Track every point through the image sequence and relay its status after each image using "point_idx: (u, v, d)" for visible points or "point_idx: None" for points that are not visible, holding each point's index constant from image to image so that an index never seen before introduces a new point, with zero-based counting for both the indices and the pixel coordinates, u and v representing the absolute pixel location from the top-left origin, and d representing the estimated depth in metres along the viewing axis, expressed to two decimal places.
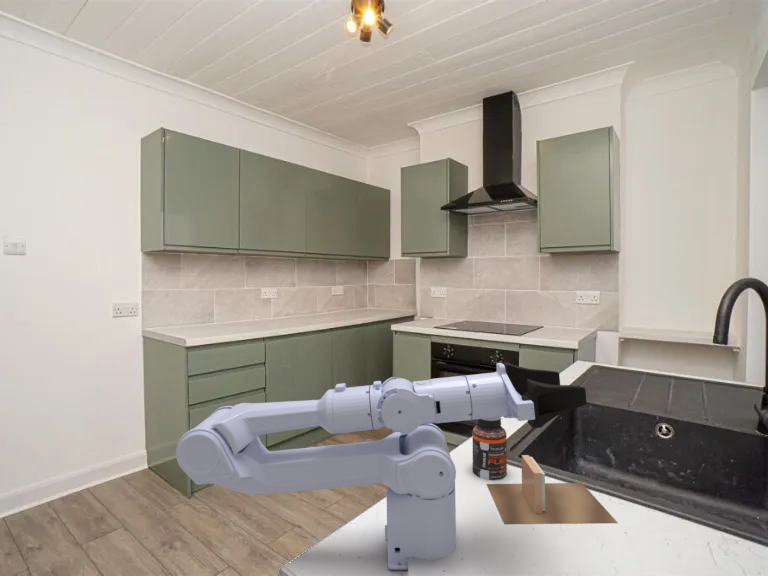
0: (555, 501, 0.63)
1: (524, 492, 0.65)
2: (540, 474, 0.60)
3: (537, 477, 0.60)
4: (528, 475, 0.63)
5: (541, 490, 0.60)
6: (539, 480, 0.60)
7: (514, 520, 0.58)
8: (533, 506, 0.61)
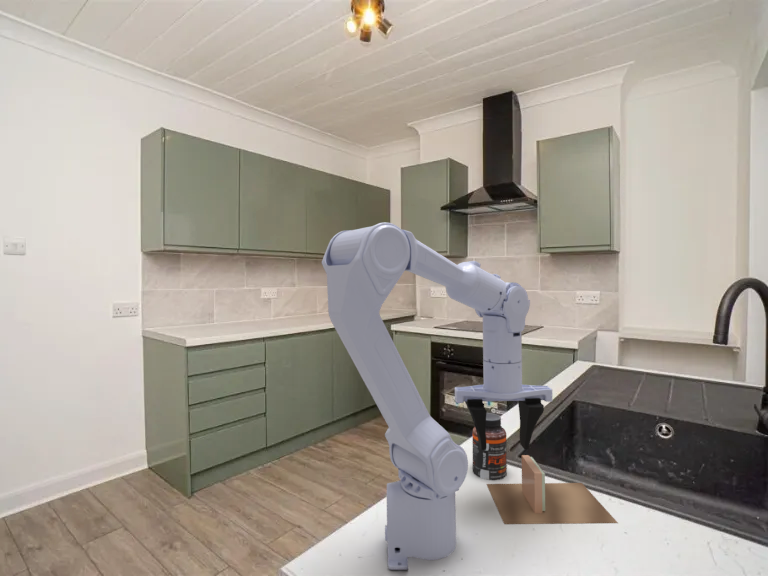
0: (555, 501, 0.63)
1: (524, 492, 0.65)
2: (540, 474, 0.60)
3: (537, 477, 0.60)
4: (528, 475, 0.63)
5: (541, 490, 0.60)
6: (539, 480, 0.60)
7: (514, 520, 0.58)
8: (533, 506, 0.61)
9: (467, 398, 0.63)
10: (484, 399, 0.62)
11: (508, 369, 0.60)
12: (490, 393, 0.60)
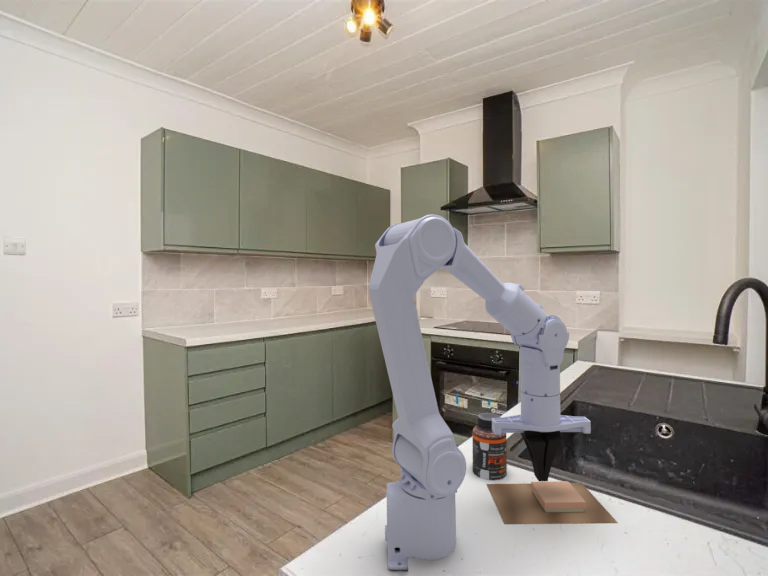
0: None
1: (537, 485, 0.65)
2: (584, 507, 0.60)
3: (581, 504, 0.60)
4: (566, 492, 0.63)
5: (567, 508, 0.60)
6: (578, 506, 0.60)
7: (514, 520, 0.58)
8: (547, 500, 0.61)
9: (504, 429, 0.63)
10: (522, 430, 0.62)
11: (548, 402, 0.60)
12: (529, 425, 0.60)
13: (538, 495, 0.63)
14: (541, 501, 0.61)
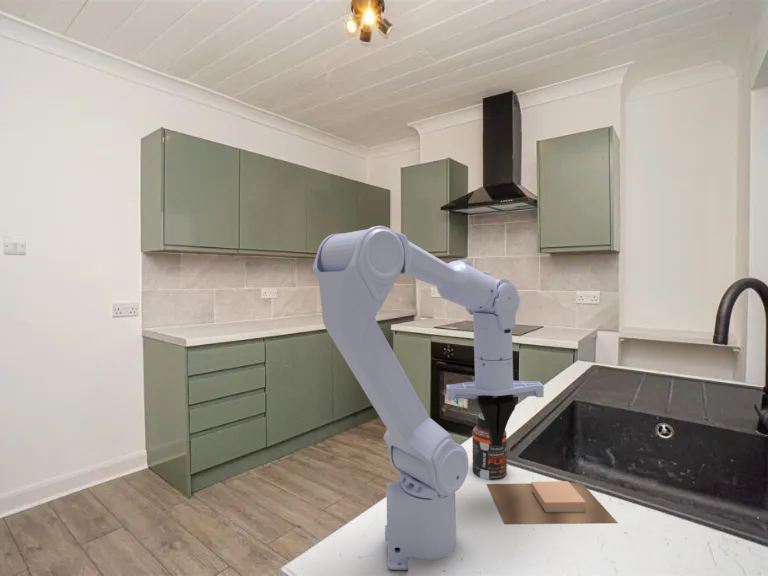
0: None
1: (537, 485, 0.65)
2: (584, 507, 0.60)
3: (581, 504, 0.60)
4: (566, 492, 0.63)
5: (567, 508, 0.60)
6: (578, 506, 0.60)
7: (514, 520, 0.58)
8: (547, 500, 0.61)
9: (458, 395, 0.63)
10: (476, 396, 0.63)
11: (499, 366, 0.60)
12: (481, 390, 0.61)
13: (538, 495, 0.63)
14: (541, 501, 0.61)
